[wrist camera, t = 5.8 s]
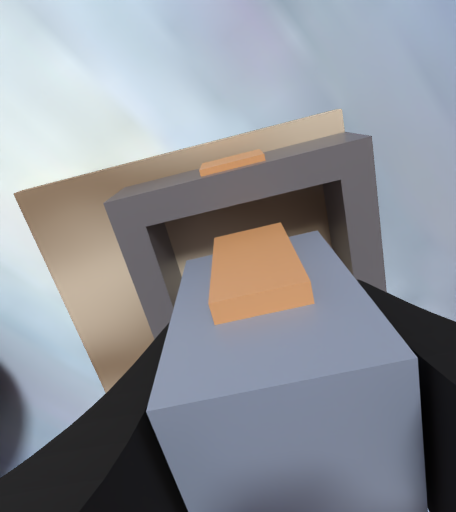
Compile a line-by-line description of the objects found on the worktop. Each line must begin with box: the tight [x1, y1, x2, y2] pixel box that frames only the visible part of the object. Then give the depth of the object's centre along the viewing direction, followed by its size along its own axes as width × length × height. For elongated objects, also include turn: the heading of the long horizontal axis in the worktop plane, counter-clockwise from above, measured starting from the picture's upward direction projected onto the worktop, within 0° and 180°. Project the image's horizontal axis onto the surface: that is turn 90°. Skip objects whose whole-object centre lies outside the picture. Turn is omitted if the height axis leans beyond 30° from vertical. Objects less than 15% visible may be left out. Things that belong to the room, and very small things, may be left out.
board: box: [14, 109, 345, 393], centre depth 16 cm, size 18×12×1 cm, turn 14°
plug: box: [146, 222, 428, 512], centre depth 9 cm, size 4×4×6 cm
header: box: [103, 132, 387, 340], centre depth 13 cm, size 9×8×2 cm
